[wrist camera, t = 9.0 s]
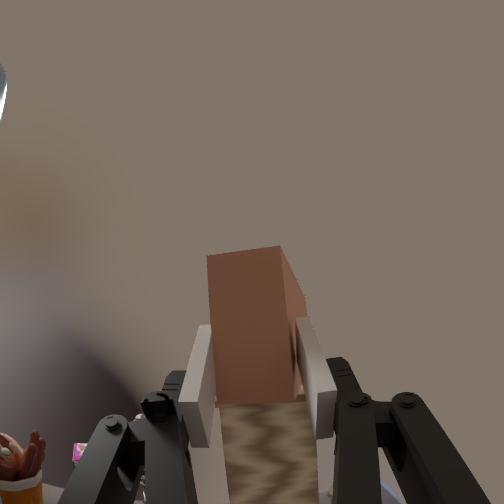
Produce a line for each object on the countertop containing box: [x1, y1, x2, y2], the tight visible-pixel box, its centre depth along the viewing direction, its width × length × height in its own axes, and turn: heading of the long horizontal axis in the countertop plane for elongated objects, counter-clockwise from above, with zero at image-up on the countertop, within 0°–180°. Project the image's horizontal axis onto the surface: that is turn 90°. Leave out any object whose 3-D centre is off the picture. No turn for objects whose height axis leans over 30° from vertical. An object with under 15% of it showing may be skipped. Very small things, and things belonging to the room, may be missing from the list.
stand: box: [215, 385, 319, 504], centre depth 41 cm, size 13×15×30 cm
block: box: [207, 246, 307, 404], centre depth 28 cm, size 4×24×8 cm, turn 168°
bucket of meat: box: [0, 431, 46, 504], centre depth 38 cm, size 20×16×20 cm
